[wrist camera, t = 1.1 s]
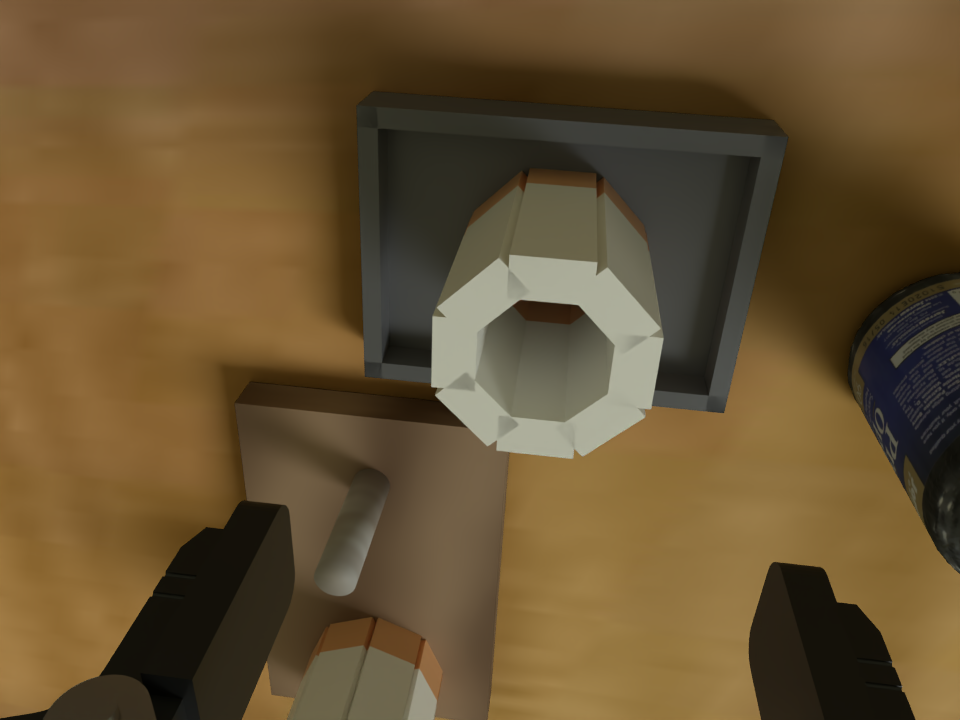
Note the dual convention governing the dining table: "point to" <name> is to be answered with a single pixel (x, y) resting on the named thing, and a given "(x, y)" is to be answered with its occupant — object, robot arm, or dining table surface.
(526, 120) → the feeder tray
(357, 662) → the seated sleeve
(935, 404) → the pill bottle
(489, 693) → the pin board
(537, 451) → the sleeve
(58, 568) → the dining table surface
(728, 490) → the dining table surface
